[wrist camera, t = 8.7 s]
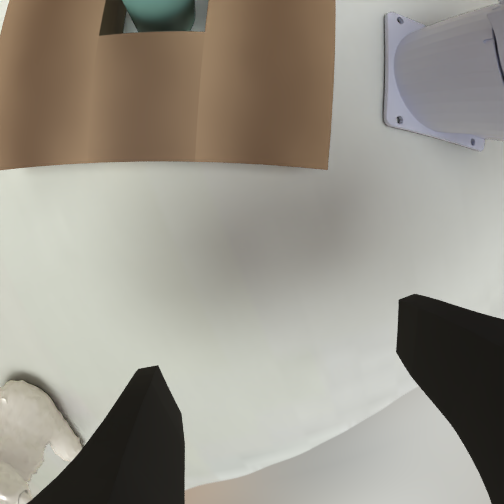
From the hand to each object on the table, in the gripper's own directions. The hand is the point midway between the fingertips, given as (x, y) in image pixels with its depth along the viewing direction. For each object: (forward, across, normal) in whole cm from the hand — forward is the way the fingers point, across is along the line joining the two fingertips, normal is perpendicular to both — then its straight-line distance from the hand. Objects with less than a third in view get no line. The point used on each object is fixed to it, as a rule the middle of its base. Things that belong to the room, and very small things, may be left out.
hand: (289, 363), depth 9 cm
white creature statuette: (+11, +20, +9) cm, 24 cm away
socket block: (+10, +2, -14) cm, 17 cm away
